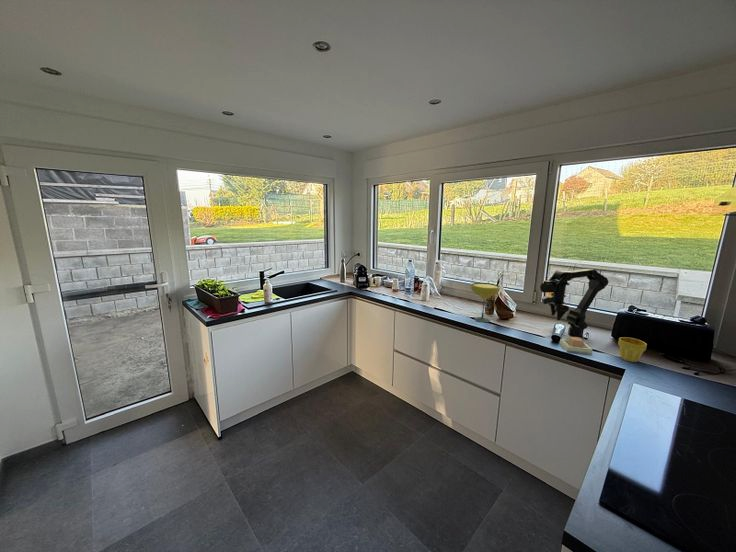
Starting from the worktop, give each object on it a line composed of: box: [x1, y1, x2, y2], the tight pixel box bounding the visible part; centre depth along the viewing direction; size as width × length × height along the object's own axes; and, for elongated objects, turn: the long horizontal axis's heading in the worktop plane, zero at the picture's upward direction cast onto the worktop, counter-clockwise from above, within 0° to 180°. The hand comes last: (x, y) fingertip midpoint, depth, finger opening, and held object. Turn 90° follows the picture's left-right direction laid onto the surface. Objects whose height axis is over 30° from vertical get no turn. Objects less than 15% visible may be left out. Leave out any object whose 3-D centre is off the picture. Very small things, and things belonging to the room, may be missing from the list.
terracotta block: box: [568, 335, 585, 348], centre depth 155 cm, size 5×5×5 cm
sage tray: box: [559, 338, 593, 356], centre depth 156 cm, size 11×11×3 cm
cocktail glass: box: [470, 282, 501, 324], centre depth 199 cm, size 18×18×25 cm
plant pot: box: [617, 336, 648, 363], centre depth 144 cm, size 10×10×10 cm
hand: (555, 317), depth 171 cm, fingers open, 9 cm apart
